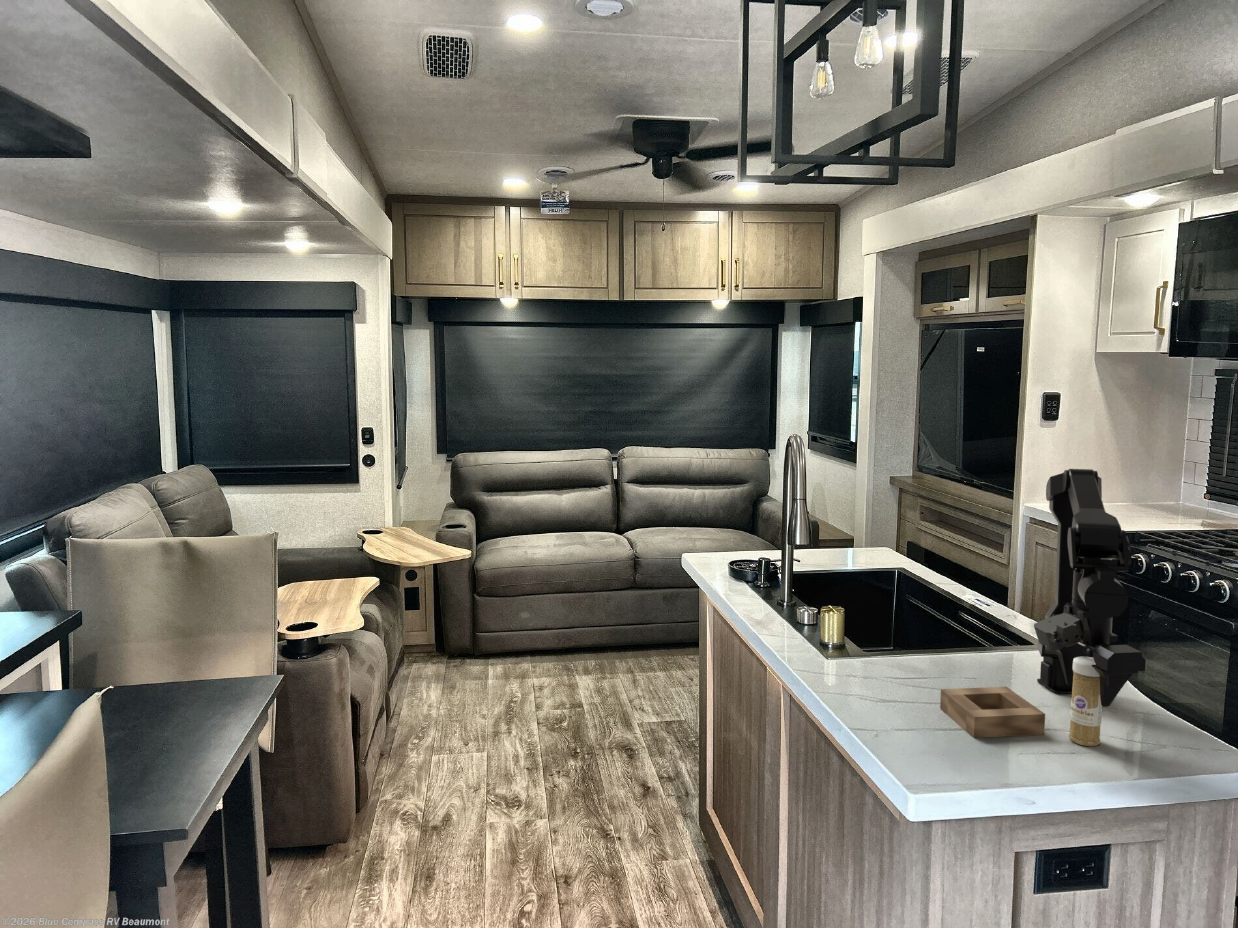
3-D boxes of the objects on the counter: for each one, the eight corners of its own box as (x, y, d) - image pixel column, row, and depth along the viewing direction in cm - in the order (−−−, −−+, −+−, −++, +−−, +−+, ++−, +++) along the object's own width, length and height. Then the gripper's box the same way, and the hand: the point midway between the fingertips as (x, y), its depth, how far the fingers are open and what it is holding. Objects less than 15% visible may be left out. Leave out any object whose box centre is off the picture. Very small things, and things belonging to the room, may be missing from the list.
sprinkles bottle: (1065, 741, 138) (1069, 660, 137) (1072, 732, 142) (1076, 653, 140) (1097, 749, 135) (1102, 667, 134) (1103, 740, 139) (1108, 659, 137)
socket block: (1005, 705, 153) (1006, 686, 153) (1044, 734, 141) (1045, 713, 141) (940, 708, 152) (940, 689, 152) (973, 737, 140) (974, 716, 140)
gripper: (1011, 586, 144) (1007, 675, 146) (1080, 619, 126) (1074, 721, 128) (1075, 584, 145) (1070, 673, 147) (1152, 616, 127) (1145, 718, 129)
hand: (1087, 694), depth 138 cm, fingers open, 9 cm apart
